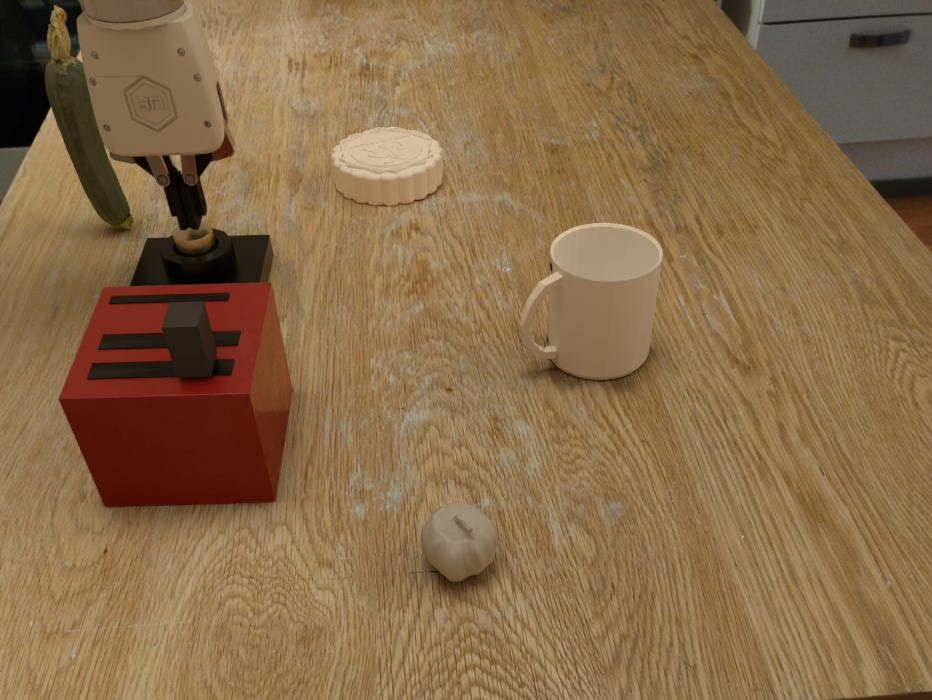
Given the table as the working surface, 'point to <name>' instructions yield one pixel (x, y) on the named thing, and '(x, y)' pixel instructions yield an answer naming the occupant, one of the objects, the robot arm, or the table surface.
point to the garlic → (459, 540)
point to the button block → (206, 262)
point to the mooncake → (387, 166)
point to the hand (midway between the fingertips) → (192, 222)
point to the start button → (194, 241)
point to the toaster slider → (189, 339)
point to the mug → (597, 301)
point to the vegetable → (81, 126)
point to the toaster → (181, 399)
